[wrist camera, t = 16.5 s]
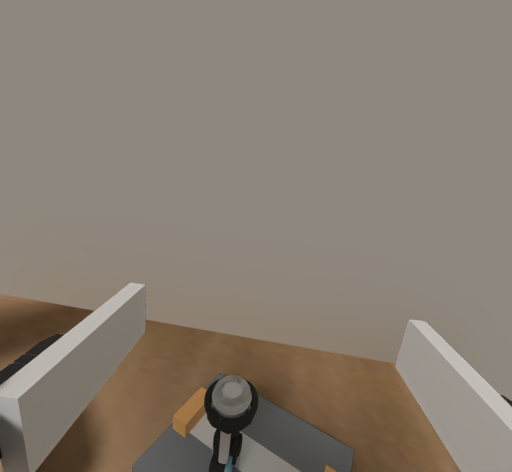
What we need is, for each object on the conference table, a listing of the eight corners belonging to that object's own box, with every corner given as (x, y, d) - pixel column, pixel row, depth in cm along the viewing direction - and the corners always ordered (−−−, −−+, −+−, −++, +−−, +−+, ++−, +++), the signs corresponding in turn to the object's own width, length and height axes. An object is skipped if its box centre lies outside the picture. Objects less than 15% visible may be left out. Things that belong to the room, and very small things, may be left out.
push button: (214, 421, 32) (218, 355, 29) (255, 431, 31) (264, 365, 28) (192, 485, 25) (195, 408, 23) (244, 499, 25) (254, 422, 22)
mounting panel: (132, 473, 27) (131, 451, 26) (219, 379, 40) (220, 362, 39) (317, 655, 18) (325, 630, 17) (352, 457, 31) (357, 437, 30)
